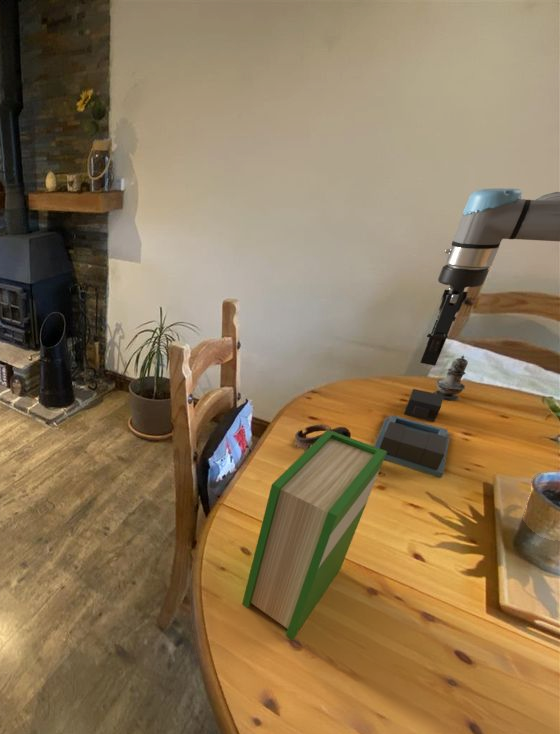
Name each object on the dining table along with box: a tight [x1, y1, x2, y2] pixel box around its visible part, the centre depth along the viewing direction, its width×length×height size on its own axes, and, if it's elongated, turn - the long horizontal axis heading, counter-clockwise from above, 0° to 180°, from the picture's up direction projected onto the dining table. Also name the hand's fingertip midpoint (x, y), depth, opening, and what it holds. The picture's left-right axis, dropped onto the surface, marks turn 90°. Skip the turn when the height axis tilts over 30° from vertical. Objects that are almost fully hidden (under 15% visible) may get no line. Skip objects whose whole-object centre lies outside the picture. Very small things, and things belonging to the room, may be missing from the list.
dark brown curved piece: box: [294, 423, 352, 452], centre depth 93 cm, size 12×10×8 cm
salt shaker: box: [432, 355, 469, 402], centre depth 110 cm, size 6×6×12 cm
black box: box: [403, 388, 444, 423], centre depth 105 cm, size 6×8×4 cm
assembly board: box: [374, 414, 451, 479], centre depth 94 cm, size 12×18×5 cm, turn 136°
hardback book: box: [241, 430, 387, 641], centre depth 61 cm, size 18×7×24 cm, turn 129°
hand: (430, 354), depth 101 cm, fingers open, 13 cm apart
